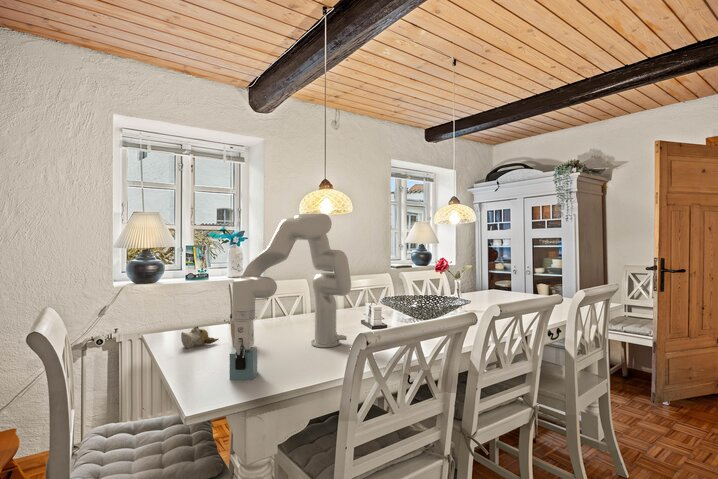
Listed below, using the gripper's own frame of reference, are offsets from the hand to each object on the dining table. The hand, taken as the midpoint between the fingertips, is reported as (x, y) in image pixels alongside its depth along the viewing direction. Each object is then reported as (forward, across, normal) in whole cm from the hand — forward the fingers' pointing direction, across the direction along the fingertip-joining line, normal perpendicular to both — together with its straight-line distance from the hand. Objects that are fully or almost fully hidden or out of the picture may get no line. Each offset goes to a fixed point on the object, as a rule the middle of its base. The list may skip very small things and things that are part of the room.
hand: (243, 364), depth 136 cm
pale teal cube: (+4, 0, 0) cm, 4 cm away
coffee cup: (+4, +38, +10) cm, 39 cm away
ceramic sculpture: (+4, +39, +28) cm, 48 cm away
